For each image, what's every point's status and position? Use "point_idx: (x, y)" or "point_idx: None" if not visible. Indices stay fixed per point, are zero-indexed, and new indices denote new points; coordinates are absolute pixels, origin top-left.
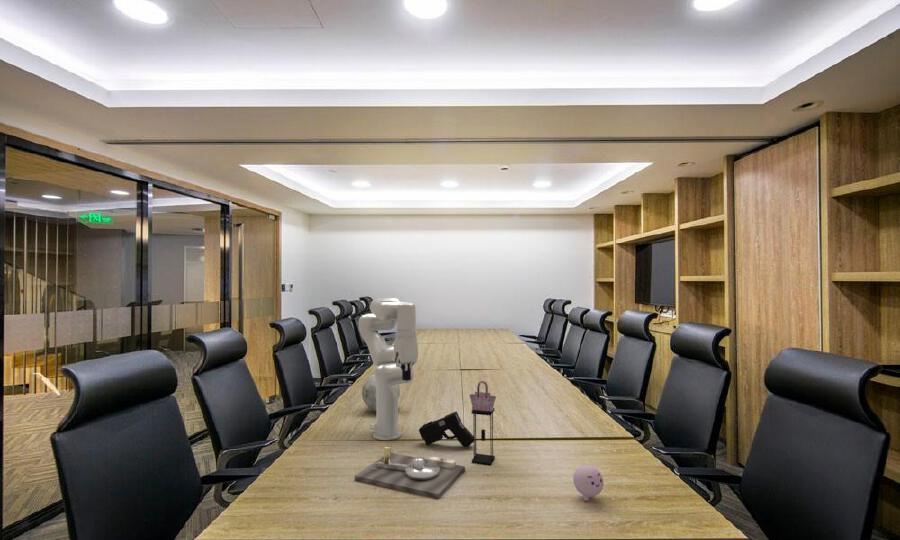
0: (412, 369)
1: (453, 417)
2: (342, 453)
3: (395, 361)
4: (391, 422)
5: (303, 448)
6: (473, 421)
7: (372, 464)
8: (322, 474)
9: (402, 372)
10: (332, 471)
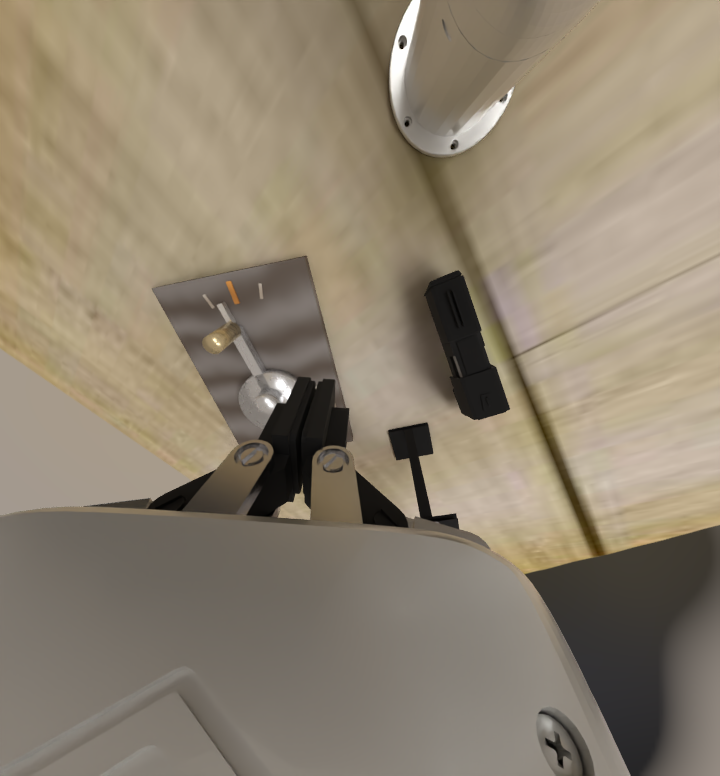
0: None
1: (469, 411)
2: (206, 61)
3: (31, 522)
4: (441, 109)
5: None
6: (416, 493)
7: (220, 277)
8: (88, 171)
9: (261, 434)
10: (122, 182)
